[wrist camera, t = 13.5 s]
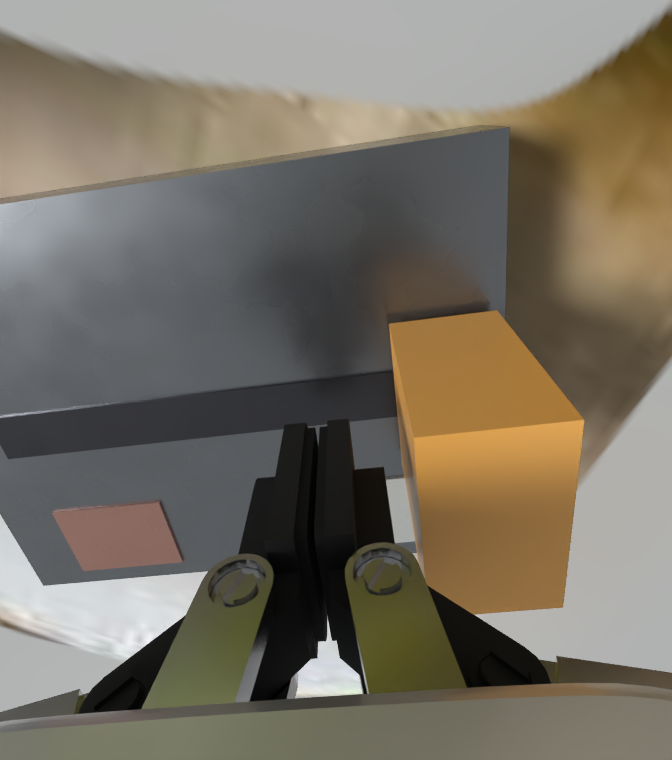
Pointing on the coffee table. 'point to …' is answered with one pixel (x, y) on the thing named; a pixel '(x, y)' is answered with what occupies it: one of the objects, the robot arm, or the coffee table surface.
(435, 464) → the block
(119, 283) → the panel
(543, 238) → the coffee table surface
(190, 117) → the coffee table surface
